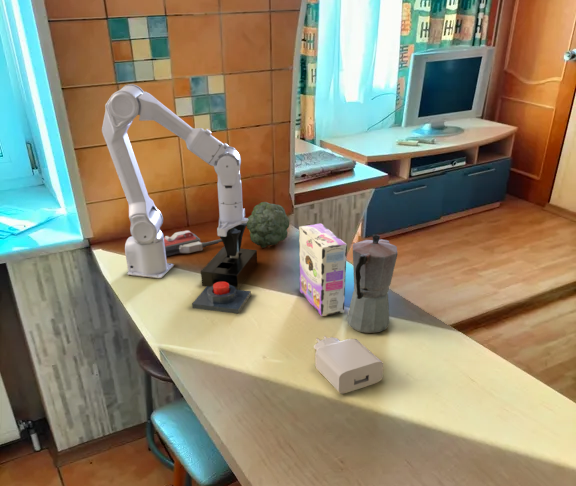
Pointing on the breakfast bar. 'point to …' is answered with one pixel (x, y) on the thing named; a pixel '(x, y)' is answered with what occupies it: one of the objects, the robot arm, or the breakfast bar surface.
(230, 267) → the holder
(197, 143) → the robot arm
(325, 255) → the candy box
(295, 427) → the breakfast bar surface
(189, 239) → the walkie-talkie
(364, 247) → the moka pot
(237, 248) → the light blue tube
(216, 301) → the grey button base
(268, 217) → the vegetable
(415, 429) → the breakfast bar surface
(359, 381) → the charger
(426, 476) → the breakfast bar surface
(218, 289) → the power button
